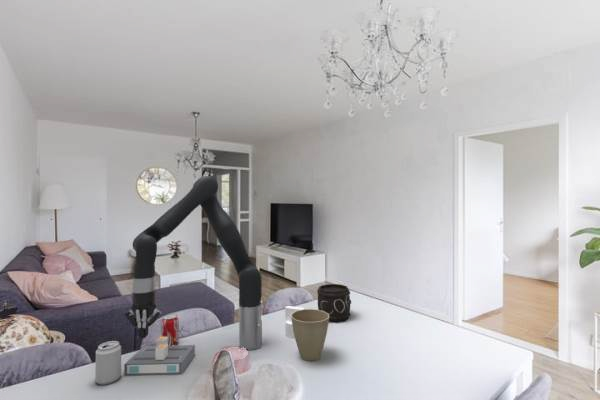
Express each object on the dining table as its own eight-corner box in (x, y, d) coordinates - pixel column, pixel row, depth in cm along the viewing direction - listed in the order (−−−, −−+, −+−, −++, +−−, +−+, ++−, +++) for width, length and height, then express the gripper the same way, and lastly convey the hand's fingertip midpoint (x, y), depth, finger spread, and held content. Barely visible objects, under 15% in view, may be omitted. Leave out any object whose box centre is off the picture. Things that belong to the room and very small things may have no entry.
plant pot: (302, 370, 109) (302, 324, 109) (285, 353, 122) (284, 312, 122) (337, 360, 116) (336, 317, 116) (317, 345, 129) (316, 306, 129)
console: (194, 355, 121) (194, 344, 122) (181, 374, 107) (181, 362, 107) (144, 356, 121) (144, 346, 121) (123, 375, 107) (124, 364, 107)
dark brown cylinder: (354, 323, 153) (353, 291, 153) (318, 323, 153) (318, 292, 154) (349, 311, 171) (348, 283, 171) (317, 311, 171) (316, 283, 172)
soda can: (172, 348, 127) (172, 319, 128) (157, 347, 129) (157, 318, 129) (182, 341, 134) (182, 314, 135) (167, 340, 136) (167, 313, 136)
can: (103, 374, 108) (103, 340, 108) (125, 373, 108) (125, 339, 109) (90, 386, 100) (90, 349, 101) (114, 385, 101) (114, 348, 101)
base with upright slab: (282, 336, 138) (281, 309, 139) (290, 329, 146) (289, 304, 147) (300, 339, 135) (300, 311, 135) (307, 331, 143) (307, 305, 144)
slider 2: (167, 355, 113) (167, 343, 113) (163, 359, 109) (163, 347, 109) (159, 355, 113) (159, 343, 113) (155, 360, 109) (155, 348, 109)
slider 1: (167, 347, 120) (167, 336, 120) (163, 351, 116) (163, 339, 116) (159, 347, 120) (159, 336, 120) (155, 351, 116) (155, 340, 116)
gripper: (166, 286, 116) (166, 333, 115) (131, 287, 115) (130, 333, 115) (157, 292, 108) (156, 341, 107) (119, 292, 108) (119, 342, 107)
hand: (143, 337), depth 111 cm, fingers closed
